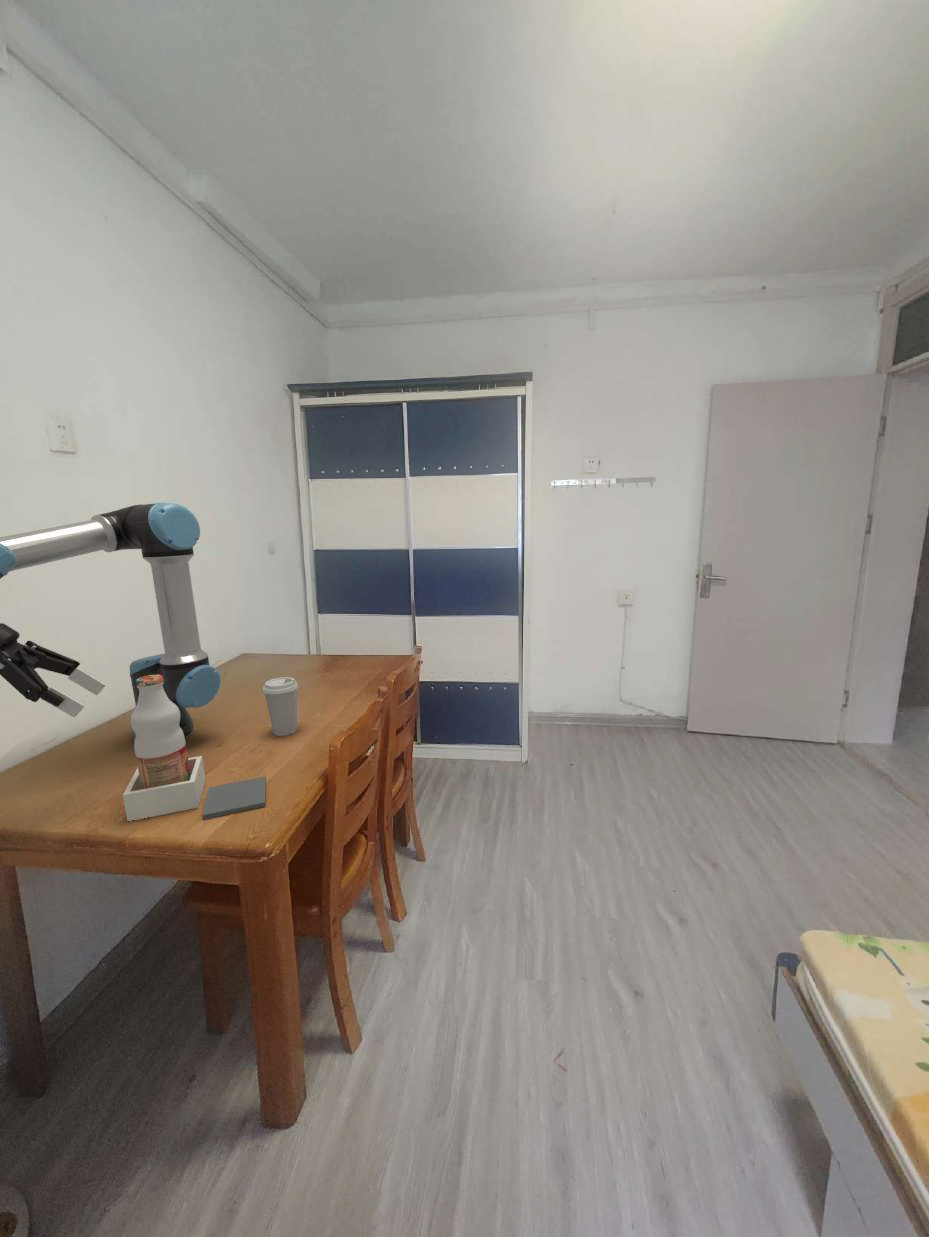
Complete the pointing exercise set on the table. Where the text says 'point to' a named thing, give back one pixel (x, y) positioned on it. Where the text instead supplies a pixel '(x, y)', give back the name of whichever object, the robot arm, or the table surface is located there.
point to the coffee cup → (282, 705)
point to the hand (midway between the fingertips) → (91, 700)
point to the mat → (235, 797)
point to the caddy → (165, 794)
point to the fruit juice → (158, 736)
